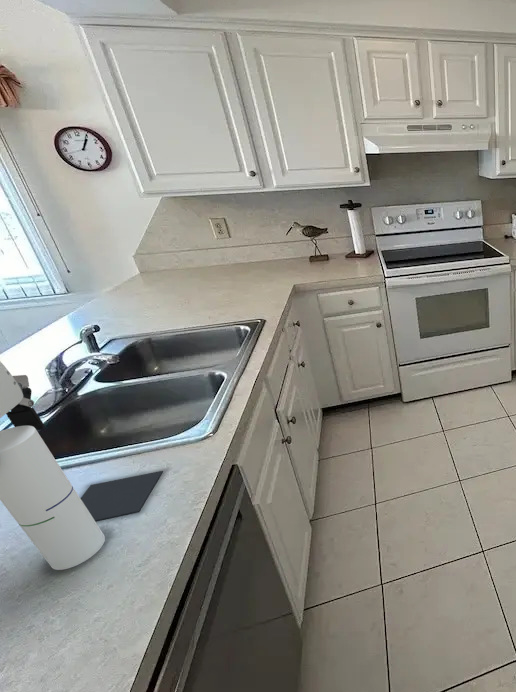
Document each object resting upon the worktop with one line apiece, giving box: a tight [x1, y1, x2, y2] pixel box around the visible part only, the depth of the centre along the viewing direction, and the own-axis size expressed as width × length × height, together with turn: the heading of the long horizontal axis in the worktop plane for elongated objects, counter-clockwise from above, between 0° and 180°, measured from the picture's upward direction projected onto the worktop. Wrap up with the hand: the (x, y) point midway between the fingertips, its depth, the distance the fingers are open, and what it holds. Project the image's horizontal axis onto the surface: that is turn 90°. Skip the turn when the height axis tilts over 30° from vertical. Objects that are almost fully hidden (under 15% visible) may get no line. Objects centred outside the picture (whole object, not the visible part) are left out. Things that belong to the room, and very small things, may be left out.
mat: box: [80, 470, 164, 522], centre depth 83 cm, size 13×11×1 cm
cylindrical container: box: [0, 425, 106, 571], centre depth 67 cm, size 7×7×25 cm
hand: (10, 450), depth 63 cm, fingers open, 9 cm apart
